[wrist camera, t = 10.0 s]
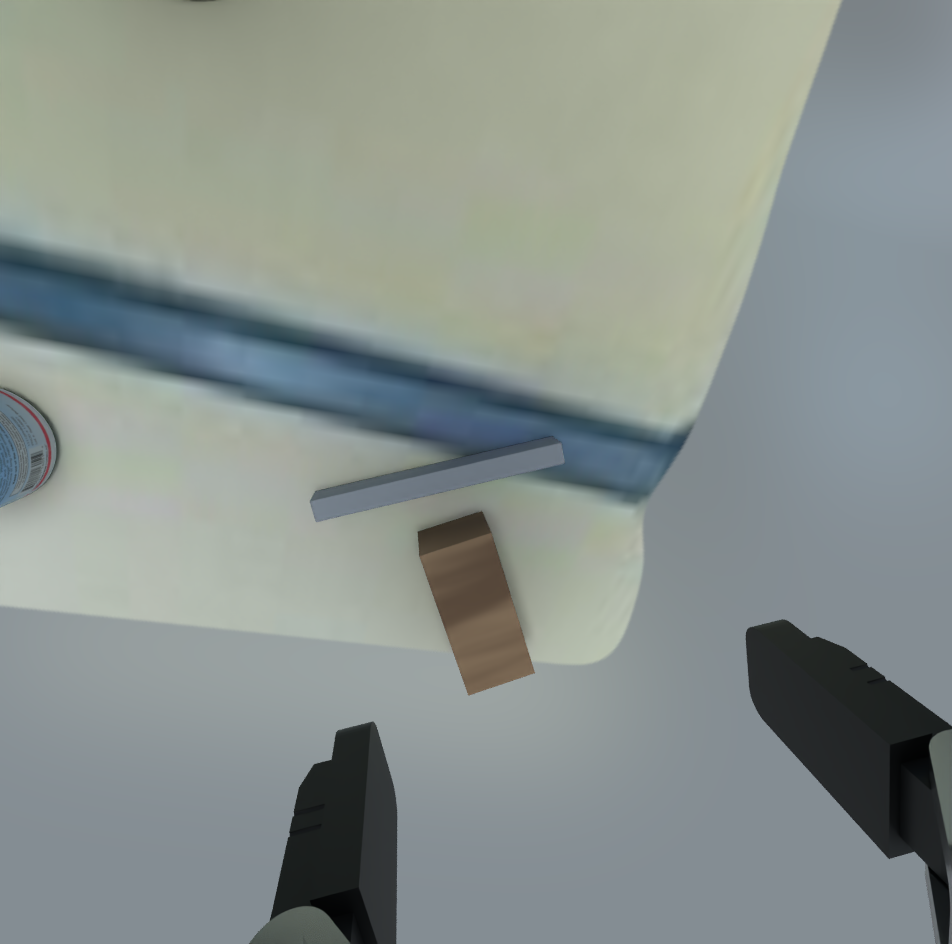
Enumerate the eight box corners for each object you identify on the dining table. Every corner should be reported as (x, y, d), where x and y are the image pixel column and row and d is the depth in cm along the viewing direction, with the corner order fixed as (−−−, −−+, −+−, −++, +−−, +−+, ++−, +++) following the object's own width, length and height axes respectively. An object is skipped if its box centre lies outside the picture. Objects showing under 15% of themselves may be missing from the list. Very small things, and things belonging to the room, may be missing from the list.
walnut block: (419, 556, 30) (469, 697, 33) (491, 532, 31) (535, 675, 33) (417, 530, 34) (462, 658, 37) (481, 510, 34) (521, 638, 37)
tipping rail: (315, 491, 33) (309, 501, 31) (552, 436, 34) (561, 442, 32) (321, 510, 33) (316, 522, 31) (555, 455, 34) (564, 463, 32)
